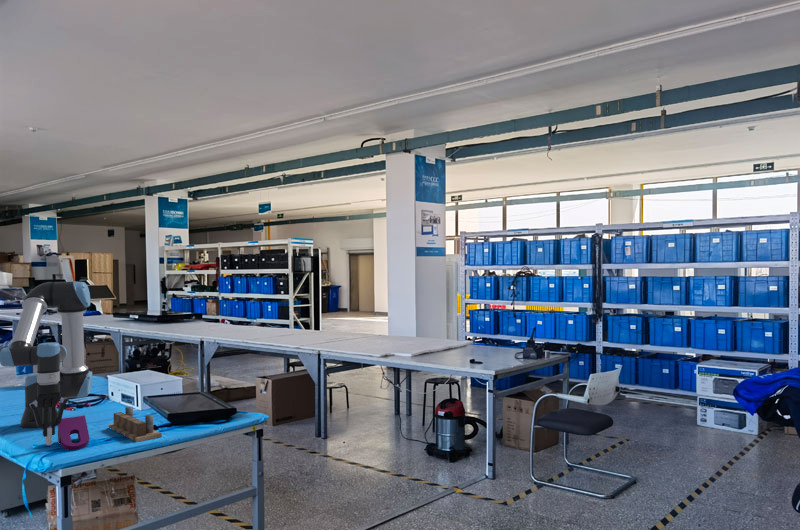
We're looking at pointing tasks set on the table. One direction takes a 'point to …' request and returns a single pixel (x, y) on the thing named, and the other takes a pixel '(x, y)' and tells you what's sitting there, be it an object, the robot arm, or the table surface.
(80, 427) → the mounting bracket
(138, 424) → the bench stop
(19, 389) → the table surface
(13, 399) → the table surface
